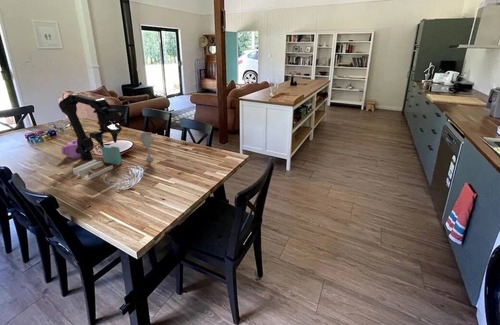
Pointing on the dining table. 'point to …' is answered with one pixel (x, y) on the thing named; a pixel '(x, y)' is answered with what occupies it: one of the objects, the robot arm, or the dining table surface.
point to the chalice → (147, 143)
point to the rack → (87, 167)
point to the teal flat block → (111, 154)
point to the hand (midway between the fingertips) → (109, 145)
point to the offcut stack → (96, 169)
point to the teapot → (71, 150)
